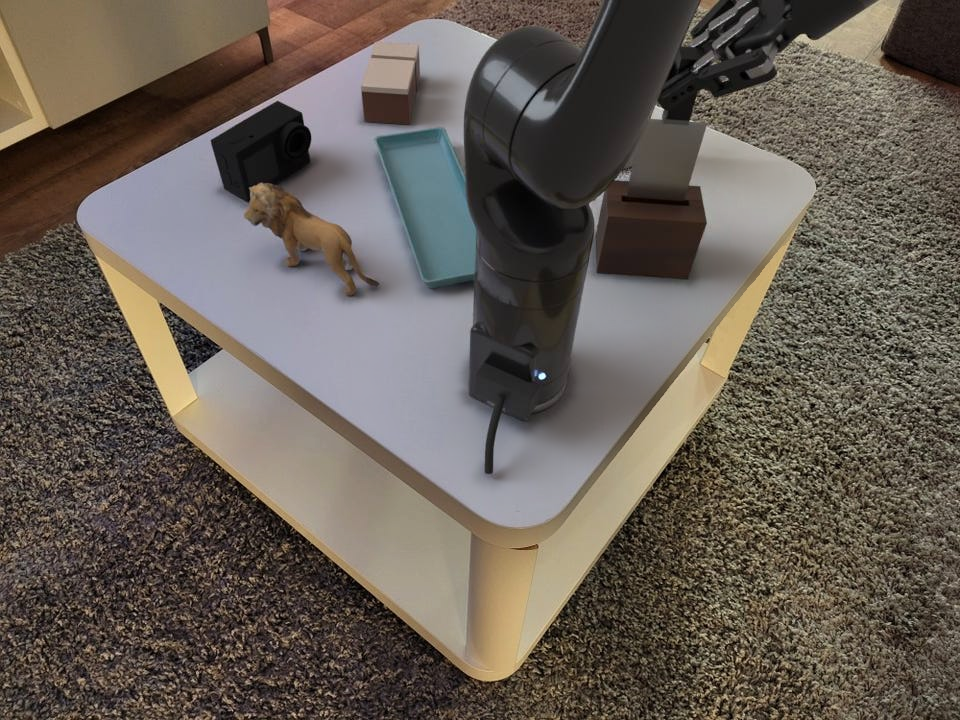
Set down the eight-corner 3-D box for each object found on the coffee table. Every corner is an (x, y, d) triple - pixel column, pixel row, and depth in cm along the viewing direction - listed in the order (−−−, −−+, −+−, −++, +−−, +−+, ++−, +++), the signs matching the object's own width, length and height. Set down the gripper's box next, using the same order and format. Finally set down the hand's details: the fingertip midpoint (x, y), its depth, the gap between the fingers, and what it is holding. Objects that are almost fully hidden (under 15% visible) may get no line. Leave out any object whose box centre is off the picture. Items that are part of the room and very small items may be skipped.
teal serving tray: (506, 281, 82) (507, 264, 80) (423, 297, 80) (422, 280, 78) (444, 142, 98) (444, 125, 96) (374, 153, 96) (372, 136, 94)
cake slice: (417, 92, 105) (415, 57, 101) (373, 89, 105) (370, 54, 101) (420, 79, 107) (418, 44, 103) (377, 76, 107) (375, 41, 103)
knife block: (688, 279, 83) (707, 222, 77) (596, 272, 83) (608, 215, 77) (682, 242, 87) (700, 185, 80) (595, 236, 87) (606, 179, 81)
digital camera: (255, 208, 88) (242, 157, 83) (223, 189, 90) (209, 139, 85) (318, 165, 94) (310, 115, 88) (286, 149, 96) (277, 99, 90)
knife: (685, 206, 78) (728, 61, 66) (626, 202, 78) (659, 57, 66) (682, 193, 79) (725, 48, 67) (625, 189, 79) (657, 44, 67)
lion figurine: (249, 262, 82) (230, 195, 76) (276, 233, 86) (261, 166, 79) (367, 304, 79) (359, 238, 72) (391, 272, 82) (386, 206, 75)
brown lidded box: (409, 125, 100) (407, 89, 96) (364, 122, 100) (360, 85, 96) (416, 96, 104) (414, 60, 100) (373, 93, 104) (369, 57, 100)
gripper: (807, -109, 62) (630, 27, 72) (847, -36, 53) (639, 107, 63) (846, -37, 66) (674, 82, 76) (889, 42, 57) (687, 165, 67)
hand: (659, 93), depth 69 cm, fingers closed on knife, 2 cm apart
